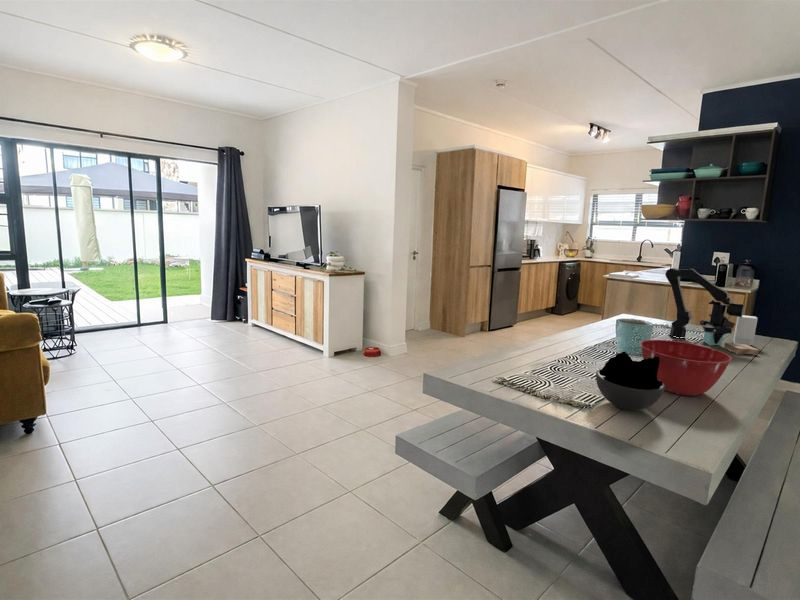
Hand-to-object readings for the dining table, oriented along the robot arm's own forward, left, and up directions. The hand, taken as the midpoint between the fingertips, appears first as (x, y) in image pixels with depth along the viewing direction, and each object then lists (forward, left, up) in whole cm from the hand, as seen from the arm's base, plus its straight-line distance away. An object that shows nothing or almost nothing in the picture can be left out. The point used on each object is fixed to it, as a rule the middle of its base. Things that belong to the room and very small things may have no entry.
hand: (712, 341), depth 233 cm
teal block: (0, 0, -1) cm, 1 cm away
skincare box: (+19, +6, -2) cm, 20 cm away
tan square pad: (+7, -12, -1) cm, 14 cm away
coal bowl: (-83, -100, -1) cm, 130 cm away
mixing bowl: (-55, -77, -2) cm, 95 cm away
